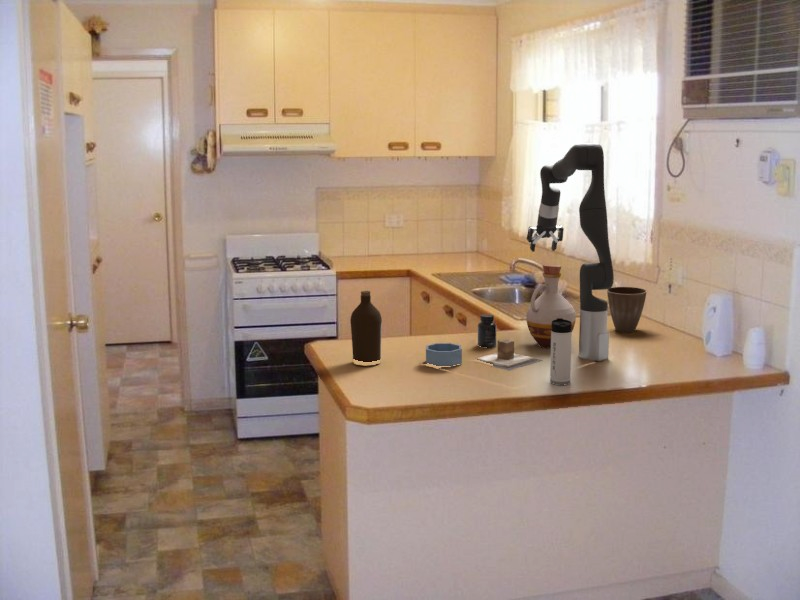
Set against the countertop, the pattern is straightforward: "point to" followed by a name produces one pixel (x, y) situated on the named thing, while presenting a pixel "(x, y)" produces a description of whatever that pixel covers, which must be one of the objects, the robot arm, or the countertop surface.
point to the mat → (518, 365)
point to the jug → (548, 307)
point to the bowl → (444, 354)
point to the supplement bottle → (487, 331)
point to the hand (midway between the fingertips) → (542, 250)
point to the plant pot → (626, 307)
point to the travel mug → (560, 351)
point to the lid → (506, 355)
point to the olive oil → (366, 330)
